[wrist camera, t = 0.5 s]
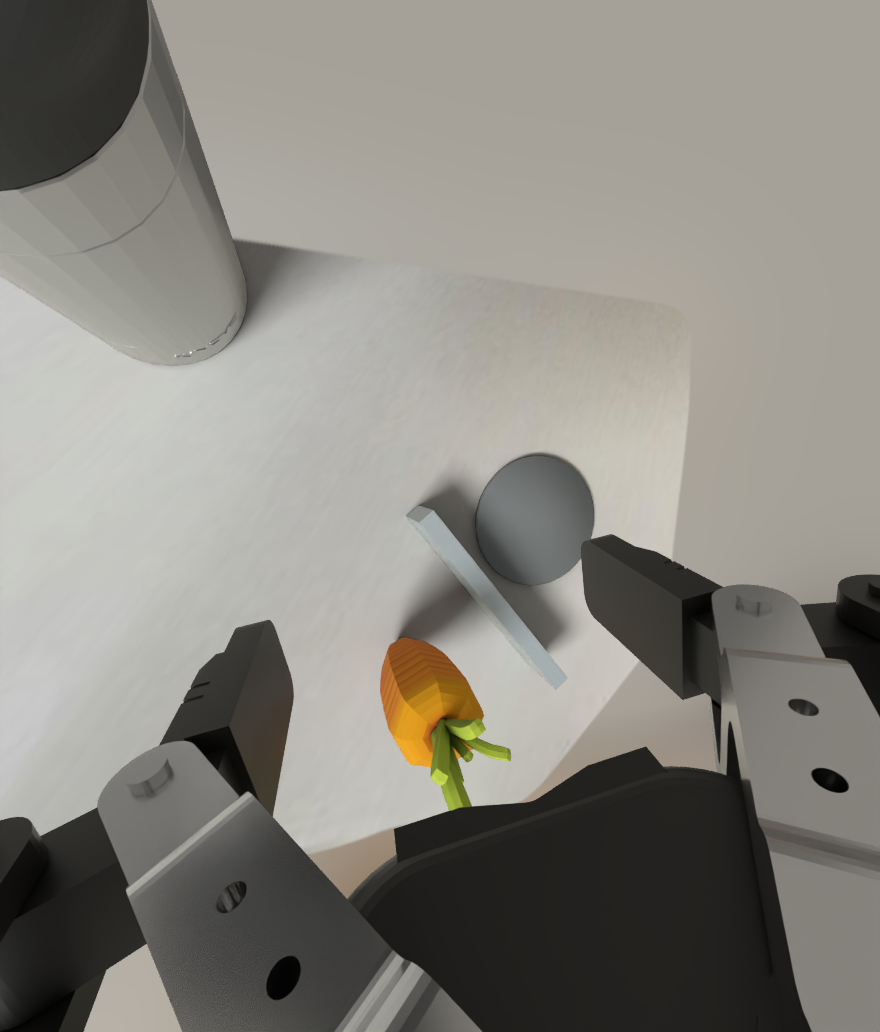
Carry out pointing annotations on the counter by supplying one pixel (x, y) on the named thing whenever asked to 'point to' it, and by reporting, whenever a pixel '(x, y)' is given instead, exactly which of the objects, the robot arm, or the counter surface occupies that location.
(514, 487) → the rest mat
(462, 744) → the carrot
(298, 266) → the counter surface
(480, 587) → the low wall
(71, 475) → the counter surface
